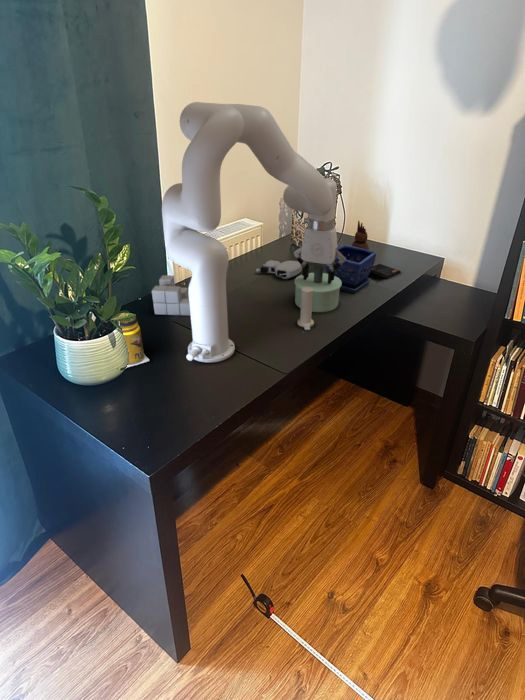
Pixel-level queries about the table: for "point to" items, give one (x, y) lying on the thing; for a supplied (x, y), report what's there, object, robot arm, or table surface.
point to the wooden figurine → (360, 238)
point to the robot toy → (281, 268)
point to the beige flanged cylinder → (306, 308)
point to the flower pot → (354, 267)
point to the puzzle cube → (170, 298)
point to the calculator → (384, 271)
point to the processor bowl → (320, 300)
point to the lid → (318, 281)
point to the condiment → (133, 341)
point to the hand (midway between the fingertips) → (317, 279)
